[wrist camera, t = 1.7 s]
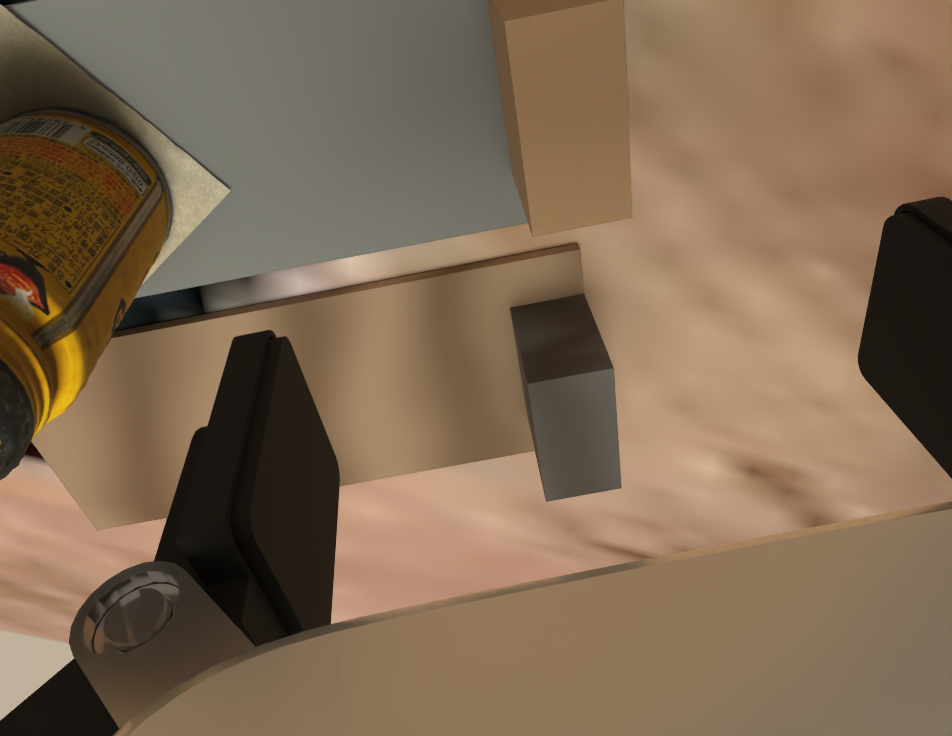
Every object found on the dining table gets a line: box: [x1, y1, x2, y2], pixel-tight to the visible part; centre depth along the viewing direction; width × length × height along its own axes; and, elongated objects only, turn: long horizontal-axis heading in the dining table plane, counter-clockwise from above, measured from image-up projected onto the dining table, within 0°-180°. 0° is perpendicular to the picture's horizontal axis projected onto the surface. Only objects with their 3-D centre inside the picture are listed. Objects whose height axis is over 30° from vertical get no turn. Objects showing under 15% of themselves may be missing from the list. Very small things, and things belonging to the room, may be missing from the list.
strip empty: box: [31, 244, 621, 530], centre depth 29 cm, size 24×10×6 cm, turn 99°
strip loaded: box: [3, 0, 632, 298], centre depth 22 cm, size 24×10×6 cm, turn 99°
